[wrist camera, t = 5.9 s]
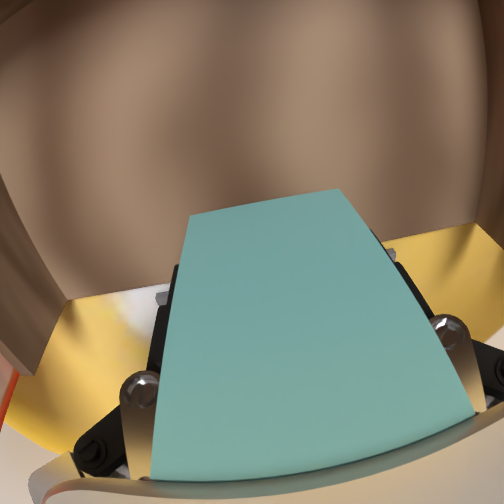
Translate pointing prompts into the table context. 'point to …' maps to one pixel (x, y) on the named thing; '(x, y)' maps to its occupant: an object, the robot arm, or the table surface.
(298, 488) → the robot arm
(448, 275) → the table surface
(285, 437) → the teal block
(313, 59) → the open box
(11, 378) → the file binder
